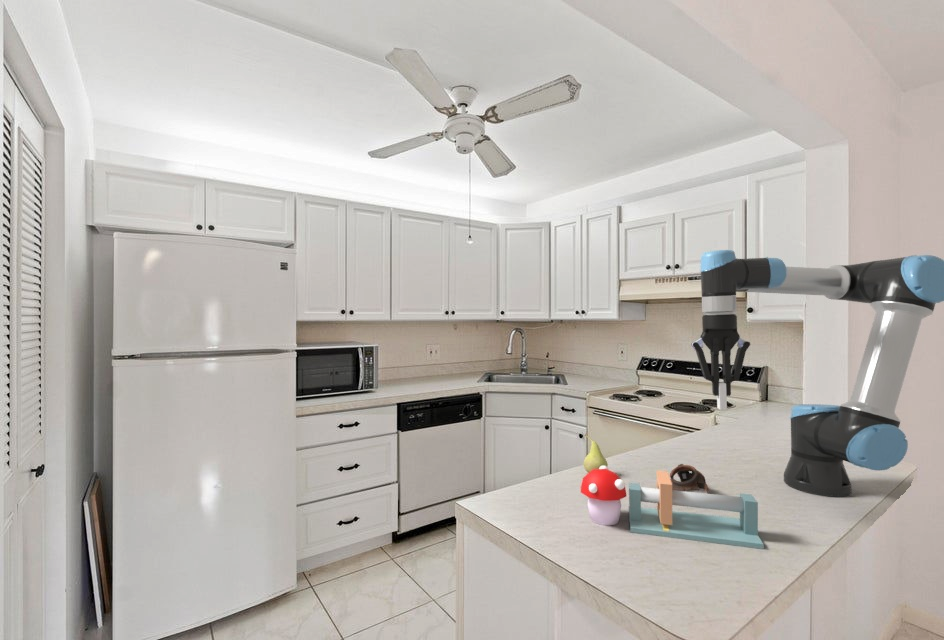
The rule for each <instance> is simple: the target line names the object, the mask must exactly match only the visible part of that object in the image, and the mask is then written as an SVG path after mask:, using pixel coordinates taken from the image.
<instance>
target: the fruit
mask: <svg viewBox="0 0 944 640" xmlns="http://www.w3.org/2000/svg"><path fill="white" fill-rule="evenodd" d="M583 436H585V437H586V438H587V439H588V440H590V444H591V446H590V450H589V453H588V454H587V455H586V456H585V458H584V460H583V467H584V470H585V471H586V472H587V474H588V473H589V472H590V471H591V470H592V469H599V468H600V467H601V466H606V467H607V468H608V465H609V464H608V461H607V460H606V457H604V455H603V453H602V451H601V448H600V446H599V444H598V443H597V442H596V441H595V440H592V439H591V437H590V436H588V435H587V433H584V435H583Z"/></svg>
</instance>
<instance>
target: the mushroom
mask: <svg viewBox="0 0 944 640" xmlns="http://www.w3.org/2000/svg"><path fill="white" fill-rule="evenodd" d="M580 494H582V495H584V496H586V497H588V500H587V508H588V515H589V519H590V520H591V521H592V522H594V523H595V524H598V525H601V526H608V527H609V526H615V525H617V524H619V521H620V516H621V509H622V503H621V500H622V499H624V498H627V491H626V484H625V481H624V480H623V479H621V477H620V476H619V474H617V473H616V472H614V471H612V470H610V469H609V468H608V467H606V466H601V467H600V468H599V469H592V470H591V471H590V472H589V473H588V472H587V474H585V476H584V477H582V480H581V486H580Z"/></svg>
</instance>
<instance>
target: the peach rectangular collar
mask: <svg viewBox="0 0 944 640" xmlns="http://www.w3.org/2000/svg"><path fill="white" fill-rule="evenodd" d="M670 479H671V477H670V474H669V472H668V471H665V470H656V489H660V504H659V503H656V509H657V510H658V515H659V519H660V523H661V524H665V525H672V511H673V505H672V483H671V480H670Z"/></svg>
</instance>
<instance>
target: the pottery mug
mask: <svg viewBox="0 0 944 640" xmlns="http://www.w3.org/2000/svg"><path fill="white" fill-rule="evenodd" d="M676 474H677V476H678V477H679V480H680V481H679V480H676V479H675V478H674V477H675V475H676ZM669 477H670V480H671V483H672V490H676V491H686V492H691V491H693V490H695V491H696V490H697V491H700V490H699V489H702V490H704V491H706V492H705V493H706V494H710V488H709V486H708V484H707V482H706V478H705V476H704V474H703V473H702V472H700V471H699V470H697V469H696V467H694V466H692V465H690V464H689V465H688V464H683V463H681V464H678V465H677V466H676V467H674V468H673V469H672V470H671V471H670V474H669Z"/></svg>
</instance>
